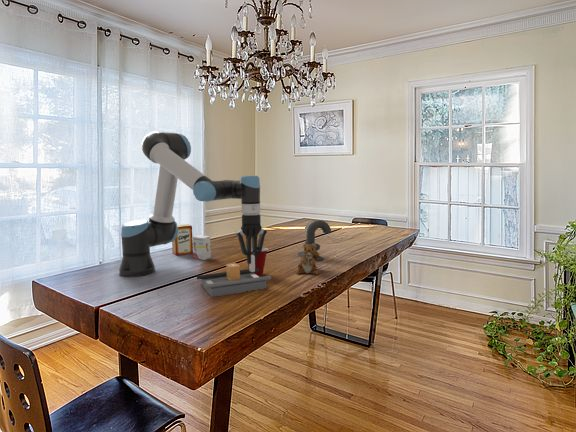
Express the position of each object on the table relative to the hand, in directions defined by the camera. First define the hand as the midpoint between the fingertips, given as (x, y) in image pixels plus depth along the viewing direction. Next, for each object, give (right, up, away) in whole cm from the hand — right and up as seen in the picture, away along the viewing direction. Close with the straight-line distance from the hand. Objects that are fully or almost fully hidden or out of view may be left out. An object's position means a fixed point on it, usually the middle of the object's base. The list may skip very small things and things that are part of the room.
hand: (252, 271), depth 155 cm
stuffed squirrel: (+24, -3, +21) cm, 32 cm away
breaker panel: (-7, -6, -3) cm, 10 cm away
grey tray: (-7, -3, -3) cm, 8 cm away
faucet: (+30, 0, +47) cm, 56 cm away
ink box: (-31, 0, +45) cm, 55 cm away
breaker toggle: (-7, -3, -3) cm, 8 cm away
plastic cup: (0, -4, +15) cm, 16 cm away
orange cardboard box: (-44, +1, +57) cm, 72 cm away
